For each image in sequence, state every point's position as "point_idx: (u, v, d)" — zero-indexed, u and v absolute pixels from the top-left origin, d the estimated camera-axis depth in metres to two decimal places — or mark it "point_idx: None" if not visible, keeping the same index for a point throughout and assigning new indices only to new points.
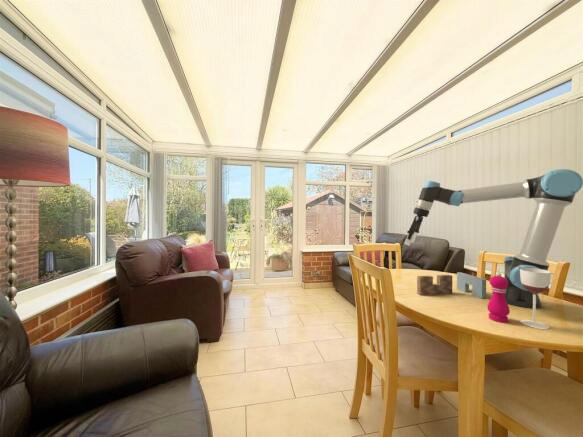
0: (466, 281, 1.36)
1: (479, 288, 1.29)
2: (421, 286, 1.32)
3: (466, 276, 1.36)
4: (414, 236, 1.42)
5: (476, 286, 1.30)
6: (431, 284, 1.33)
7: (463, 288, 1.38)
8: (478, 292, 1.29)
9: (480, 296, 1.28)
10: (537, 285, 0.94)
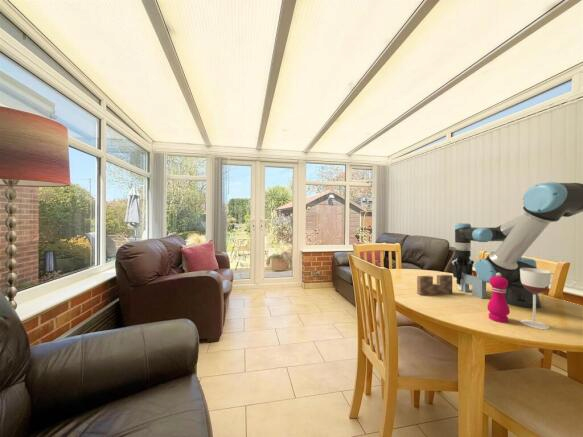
0: (466, 281, 1.36)
1: (479, 288, 1.29)
2: (421, 286, 1.32)
3: (466, 276, 1.36)
4: None
5: (476, 286, 1.30)
6: (431, 284, 1.33)
7: (463, 288, 1.38)
8: (478, 292, 1.29)
9: (480, 296, 1.28)
10: (537, 285, 0.94)
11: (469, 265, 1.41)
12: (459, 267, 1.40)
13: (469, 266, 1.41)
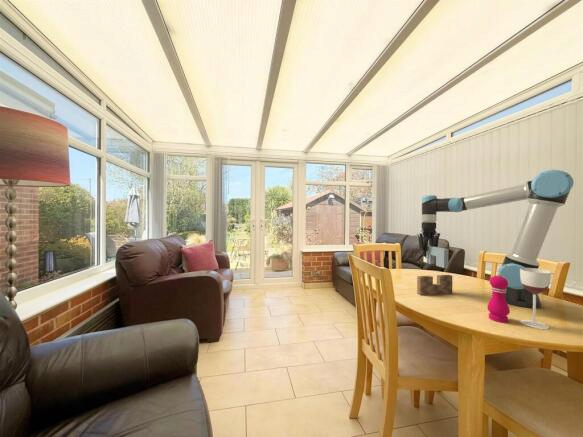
0: (431, 253, 1.36)
1: (441, 258, 1.29)
2: (421, 286, 1.32)
3: (431, 248, 1.36)
4: None
5: (439, 256, 1.30)
6: (431, 284, 1.33)
7: (428, 260, 1.38)
8: (441, 262, 1.29)
9: (442, 266, 1.28)
10: (537, 285, 0.94)
11: (435, 238, 1.41)
12: (425, 239, 1.40)
13: (435, 239, 1.41)
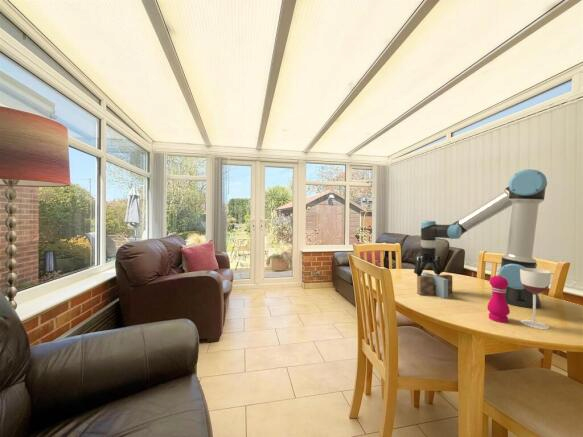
0: None
1: (441, 288, 1.29)
2: (421, 286, 1.32)
3: None
4: None
5: (439, 286, 1.30)
6: (431, 284, 1.33)
7: None
8: (440, 292, 1.29)
9: (442, 296, 1.28)
10: (537, 285, 0.94)
11: (436, 261, 1.41)
12: (422, 264, 1.39)
13: (437, 262, 1.41)
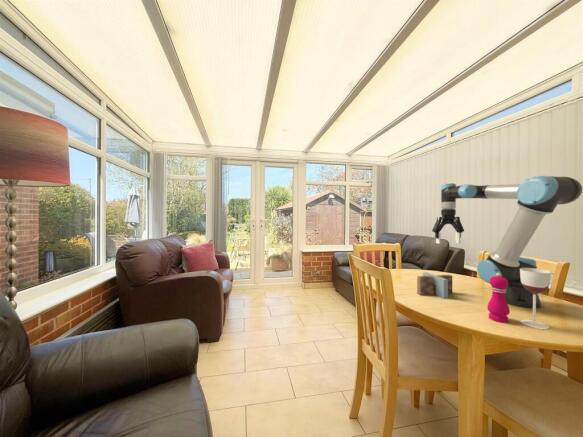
0: None
1: (441, 288, 1.29)
2: (421, 286, 1.32)
3: None
4: (458, 236, 1.49)
5: (439, 286, 1.30)
6: (431, 284, 1.33)
7: None
8: (440, 292, 1.29)
9: (442, 296, 1.28)
10: (537, 285, 0.94)
11: (457, 221, 1.49)
12: (442, 223, 1.47)
13: (457, 222, 1.49)
